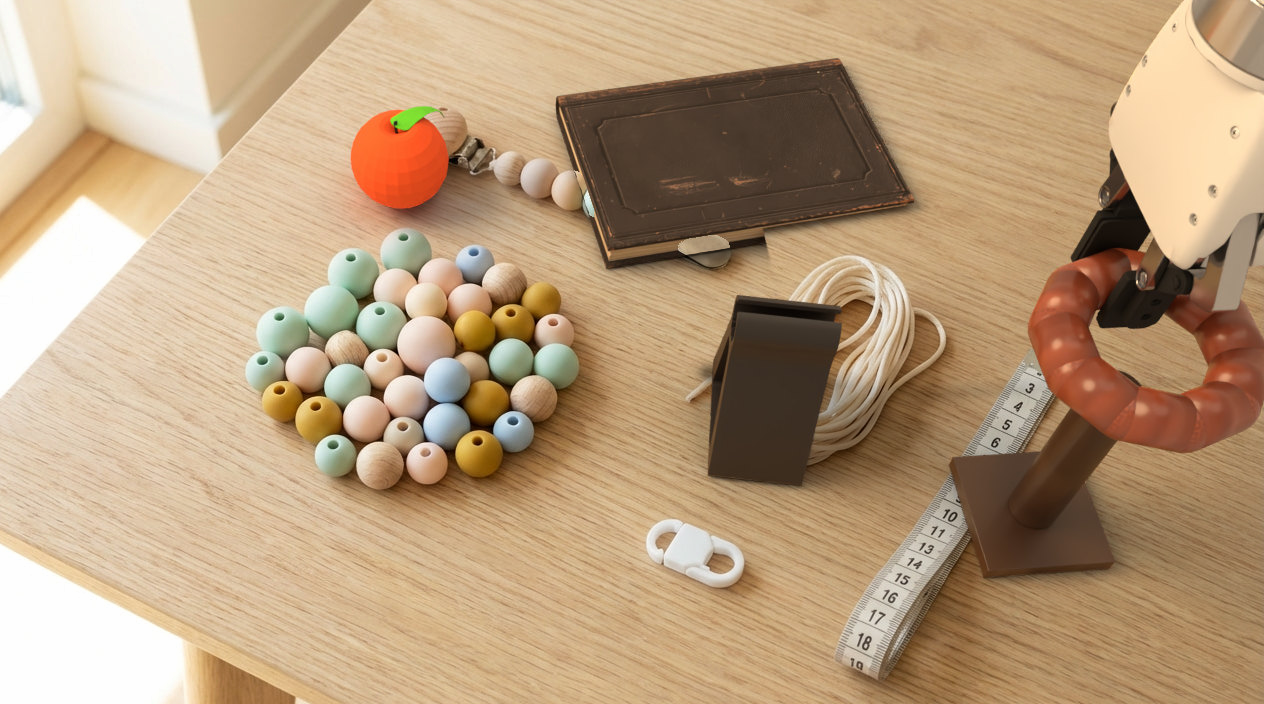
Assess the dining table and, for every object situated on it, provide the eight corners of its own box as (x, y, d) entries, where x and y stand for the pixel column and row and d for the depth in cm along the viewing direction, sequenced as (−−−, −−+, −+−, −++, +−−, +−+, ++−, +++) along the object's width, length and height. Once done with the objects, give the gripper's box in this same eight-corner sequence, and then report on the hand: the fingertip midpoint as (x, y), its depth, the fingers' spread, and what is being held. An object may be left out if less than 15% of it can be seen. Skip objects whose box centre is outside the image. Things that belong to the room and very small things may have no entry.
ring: (1197, 265, 67) (1223, 231, 64) (1291, 455, 60) (1323, 426, 58) (994, 275, 65) (1013, 242, 63) (1067, 471, 59) (1091, 442, 57)
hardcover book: (906, 221, 90) (915, 199, 88) (606, 269, 86) (608, 248, 84) (831, 75, 99) (837, 53, 97) (555, 113, 95) (555, 91, 93)
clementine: (414, 138, 93) (407, 65, 87) (480, 184, 90) (478, 112, 85) (336, 194, 89) (323, 122, 83) (402, 243, 87) (394, 173, 81)
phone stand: (712, 362, 82) (740, 245, 72) (801, 372, 82) (841, 256, 72) (706, 477, 77) (734, 368, 67) (800, 488, 77) (843, 381, 67)
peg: (1067, 456, 79) (1162, 327, 68) (1109, 568, 75) (1218, 451, 63) (948, 464, 78) (1023, 335, 67) (983, 578, 74) (1070, 460, 62)
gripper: (1482, 153, 46) (1239, 418, 61) (1294, -111, 55) (1124, 177, 70) (1293, 160, 45) (1095, 427, 60) (1135, -108, 54) (998, 182, 69)
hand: (1112, 290), depth 65 cm, fingers closed on ring, 3 cm apart
